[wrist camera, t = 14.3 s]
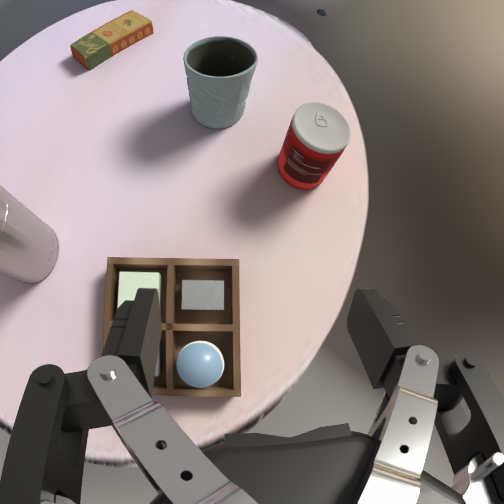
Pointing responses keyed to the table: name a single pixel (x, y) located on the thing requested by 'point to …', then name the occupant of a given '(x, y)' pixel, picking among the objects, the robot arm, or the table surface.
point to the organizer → (187, 319)
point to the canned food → (312, 144)
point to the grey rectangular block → (203, 295)
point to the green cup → (219, 79)
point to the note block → (138, 285)
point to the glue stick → (200, 364)
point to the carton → (111, 39)
